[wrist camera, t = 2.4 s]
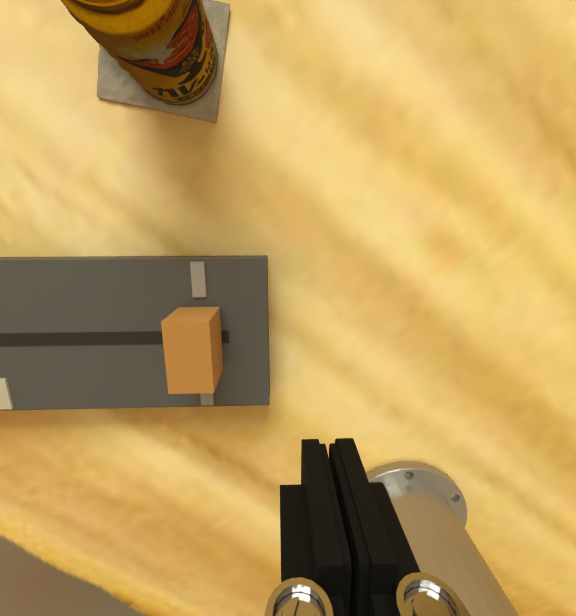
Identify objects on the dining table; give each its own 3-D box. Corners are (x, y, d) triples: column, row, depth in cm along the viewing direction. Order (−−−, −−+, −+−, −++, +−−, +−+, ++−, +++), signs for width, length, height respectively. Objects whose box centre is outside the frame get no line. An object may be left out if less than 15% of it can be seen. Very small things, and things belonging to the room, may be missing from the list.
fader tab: (219, 306, 24) (209, 321, 20) (223, 368, 25) (213, 393, 21) (179, 307, 24) (160, 321, 20) (184, 369, 25) (168, 393, 21)
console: (267, 255, 26) (266, 258, 23) (269, 390, 29) (268, 406, 26) (-65, 257, 25) (-105, 261, 22) (-27, 395, 28) (-59, 412, 25)
